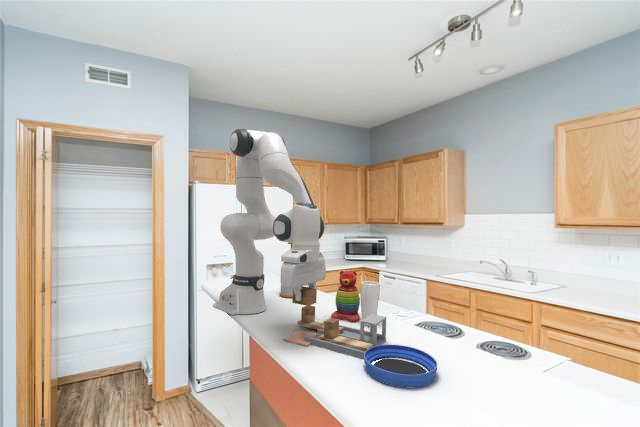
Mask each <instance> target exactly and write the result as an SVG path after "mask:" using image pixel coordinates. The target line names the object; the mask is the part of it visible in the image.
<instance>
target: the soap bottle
mask: <svg viewBox="0 0 640 427" xmlns="http://www.w3.org/2000/svg"><path fill="white" fill-rule="evenodd" d="M287 245H290V249H291V248H292V242H287ZM279 296H281V297H283V298H285V297H286V299H293V289H286V288H283V287H282V285H281V284H280V292H279Z"/></svg>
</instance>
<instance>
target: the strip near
mask: <svg viewBox="0 0 640 427" xmlns="http://www.w3.org/2000/svg"><path fill="white" fill-rule="evenodd" d="M323 323H324V334H323V335H321V336H319V340H323V341H327V342H330V343H334V344H338V345H342V346H346V347H349V348H353V349H357V350H361V351H365V352H366V351H367V350H368V349H369V348H371V347H374V344H370V343H366V342H362V341H358V340H354V339H350V338H346V337H342V336H339V325H340V320H339V319H335V318H331V317H329V318H328V319H325V320H324V321H323Z"/></svg>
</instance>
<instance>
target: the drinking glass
mask: <svg viewBox="0 0 640 427" xmlns="http://www.w3.org/2000/svg"><path fill="white" fill-rule="evenodd" d="M359 289H360V290H359V291H360V292H359V297H360V310H361V314H360V315H361V320H363V319H364V318H366V317H368V316H369V315H371V314H374V315H378V307H379V300H380V299H379V298H380V283H379V282H377V281H374V280H364V281H361V282H360V288H359ZM364 326H367V327H370V325H368V324H365V325H364Z"/></svg>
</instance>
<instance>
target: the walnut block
mask: <svg viewBox="0 0 640 427" xmlns="http://www.w3.org/2000/svg"><path fill="white" fill-rule="evenodd" d="M300 291H301V294H303V300H301V301H296V295H295V293H294V290H293V298H291V299H292V304H295V305H296V304H297V305H303V306H313V305H315V304H317V288H316V287H315V288H310V287H309V286H305V285H304V286H301V290H300Z"/></svg>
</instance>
